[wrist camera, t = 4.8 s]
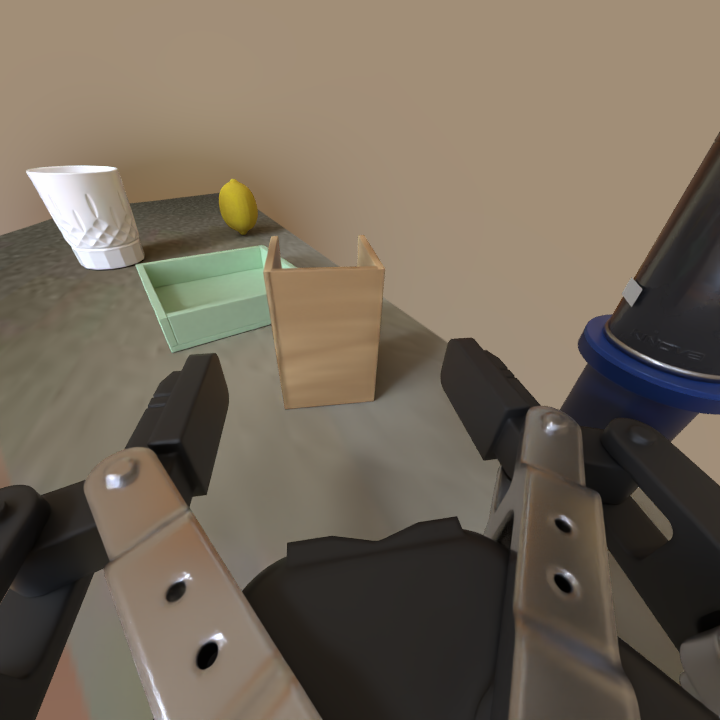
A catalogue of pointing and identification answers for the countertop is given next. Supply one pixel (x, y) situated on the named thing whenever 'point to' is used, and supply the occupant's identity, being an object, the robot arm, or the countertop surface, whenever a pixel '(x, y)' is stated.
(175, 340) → the tray
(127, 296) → the countertop surface
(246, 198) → the lemon
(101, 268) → the white cup
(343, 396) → the open wooden box
